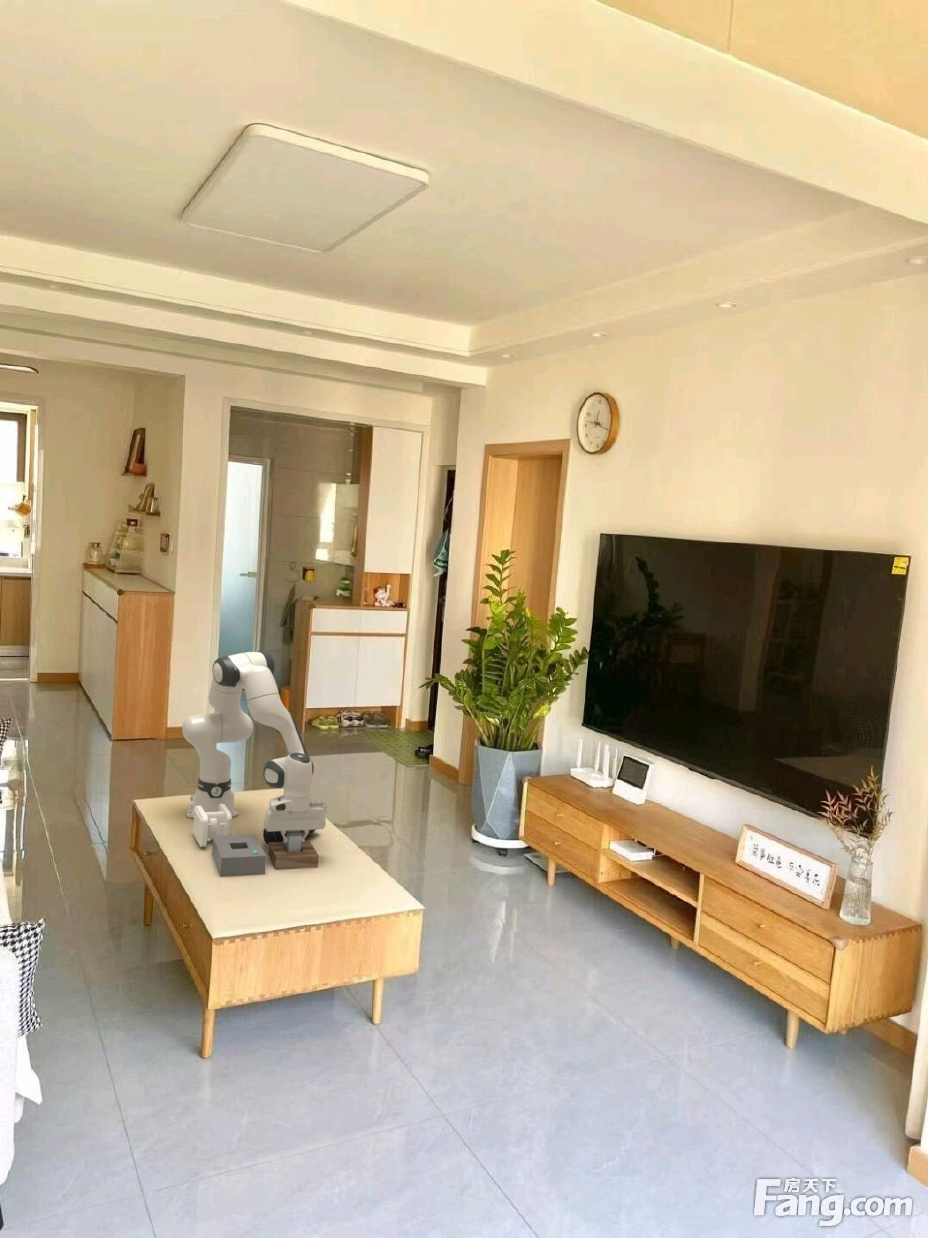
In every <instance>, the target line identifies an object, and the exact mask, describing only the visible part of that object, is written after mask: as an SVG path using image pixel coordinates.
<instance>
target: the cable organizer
mask: <svg viewBox="0 0 928 1238" xmlns="http://www.w3.org/2000/svg"><path fill="white" fill-rule="evenodd" d="M232 819H233V817H232V816H231V813H230V811H229V810H228V809H227V807H226V806H225V804H219V810H218V812H205V811H204V810H203V808H202V807H201V806H195V808H194V818H193V829H192V830H193V831H192V833H193V836H194V838H195V840H196V842H197V844H198V845H199V847H200V848H206V847H207V844H208V842H211V840H213V836H228V835H231V832H232V821H233V820H232Z"/></svg>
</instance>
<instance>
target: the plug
mask: <svg viewBox="0 0 928 1238" xmlns="http://www.w3.org/2000/svg"><path fill="white" fill-rule="evenodd" d="M287 837H288V838H289V841H288V843H286V852H300V851H301V837H302V833H301V831H300V830H295V831H287Z"/></svg>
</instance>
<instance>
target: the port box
mask: <svg viewBox="0 0 928 1238" xmlns="http://www.w3.org/2000/svg"><path fill="white" fill-rule="evenodd" d="M211 854H212V857H213V860H214V863H215V865H216V868H217V872H218V874H219V876H220V877H230V876H231V877H232V876H249V875H250V876H251V875H265V874H266V863H267V854H266V852H265V851H264V849H263V847H262V845H261V843H260V841H259V839H258V836H257V835H256V834H255V833H254V834H234V835H233V834H232V835H228V836H213V839H212V850H211Z"/></svg>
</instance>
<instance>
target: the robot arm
mask: <svg viewBox="0 0 928 1238" xmlns="http://www.w3.org/2000/svg"><path fill="white" fill-rule="evenodd" d="M211 669H212V670H211V671H212V678H211V679H212V680H211V683H210V688H209V694H208V702H209V704H210V706H211V707H212V708H213V709H214V710H215V711H217V712H213V713H212V712H211V713H210V712H209V713H206V712H205V713H198V714H191V715H189V716H187V717H186V718H185V720H184V721H183V723H182V726H181V733H182V736H183V738H184V739H185V740H186V741H187V742H188V743H189V744H191V745H192V747H194V749H195V750H196V752H197V754H198V758H199V777H198V780H197V788H196V790H195V793H194V794H190V797H189V800H190V802H189V805H188V808H187V812H186V817H187V818H190V819H194V808H195V806H201V807H202V808H203V810H204V811H205V812H218V810H219V804H225V806H226V807H227V809H228V810H229V811H230V813H231V816H232V818H233V817H236V816H238V815H239V812H238V810H236V809H235V793H234V792H233V791H232V790H231V788H232V779H231V773H232V772H231V770H232V759H231V757H230V756H229V755H228V754H227V753H226V752H224V751H221V750H219V749H218V748H217V744H220V743H221V744H222V743H237V742H241V741H245V740H248V739H249V738H250V737H251V736H252V733H253V730H254V723H253V720H252V719H254V721H256V722H257V723H259V724H260V725H261V724H262V725H264V726H267V727H271V728H273V729H275V730H277V731H278V732H279V733H280V734H281V736H282V739H283V741H284V743H285V746H286V749H287V751H288V755H287V756H284V757H279V758H274V759H271V760H268V761H267V762H266V763H265V765H264V768H263V771H262V772H263V773H262V774H263V775H262V776H263V780H264V781H265V783H266V785H267V786H269V787H271V788H274V789H283V795H280V796H277V797H273V798H271V799H270V800H269V801H268V804H269V807H268V808H267V809H266V812H265V814H264V815H265V816H264V820H263V821H264V822H263V829H264V828H265V829H266V831H268V832H272V831H280V832H281V834H282V836H283V843H288V841H289V838H288V837H285V835H284V834H286V831H295V830H303V831H304V833H303V835H302V837H301V843H304V842H305V841H306V840H305V839H306V838H307V837H308V836H307V834H308V833H309V830H315V831H316V830H317V831H318V830H319V831H320V830H323V829H324V828H325V827H326V813H327V808H328V806H327V803H325V802H323V801H311V795H312V792H311V785H312V781H313V775H314V772H315V766H314V762H313V760H312V758H311V757H310V755H309V753H308V751H307V749H306V747H305V744H304V741H303V739H302V736H301V734H300V731H299V728H298V725H297V723H296V720H295V718H294V716H293V715H292V714H291V712H290V711H289V710H288V709H287V708H286V707H285V706H284V704H283V702H282V700H281V696H280V693H279V689H278V685H277V682H276V680H275V677H274V676H273V675H274V674H275V670H276V662H275V659H274V657H273V656H272V654H271V653H270V652H268V651H263V650H258V651H257V650H256V651H247V652H240V653H236V654H230V655H228V656H227V655H223V656H221V657H218V658H216V659H215V660H214V662H213V664H212V668H211ZM243 690H244V694H245V699H246V704H247V708H248V712H249V714H250V716H251V717H250V716H249V715H248V714H247V713H246V712H244V711H243V709H242V707H241V698H242V697H241V696H242V692H243ZM251 718H252V719H251Z"/></svg>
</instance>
